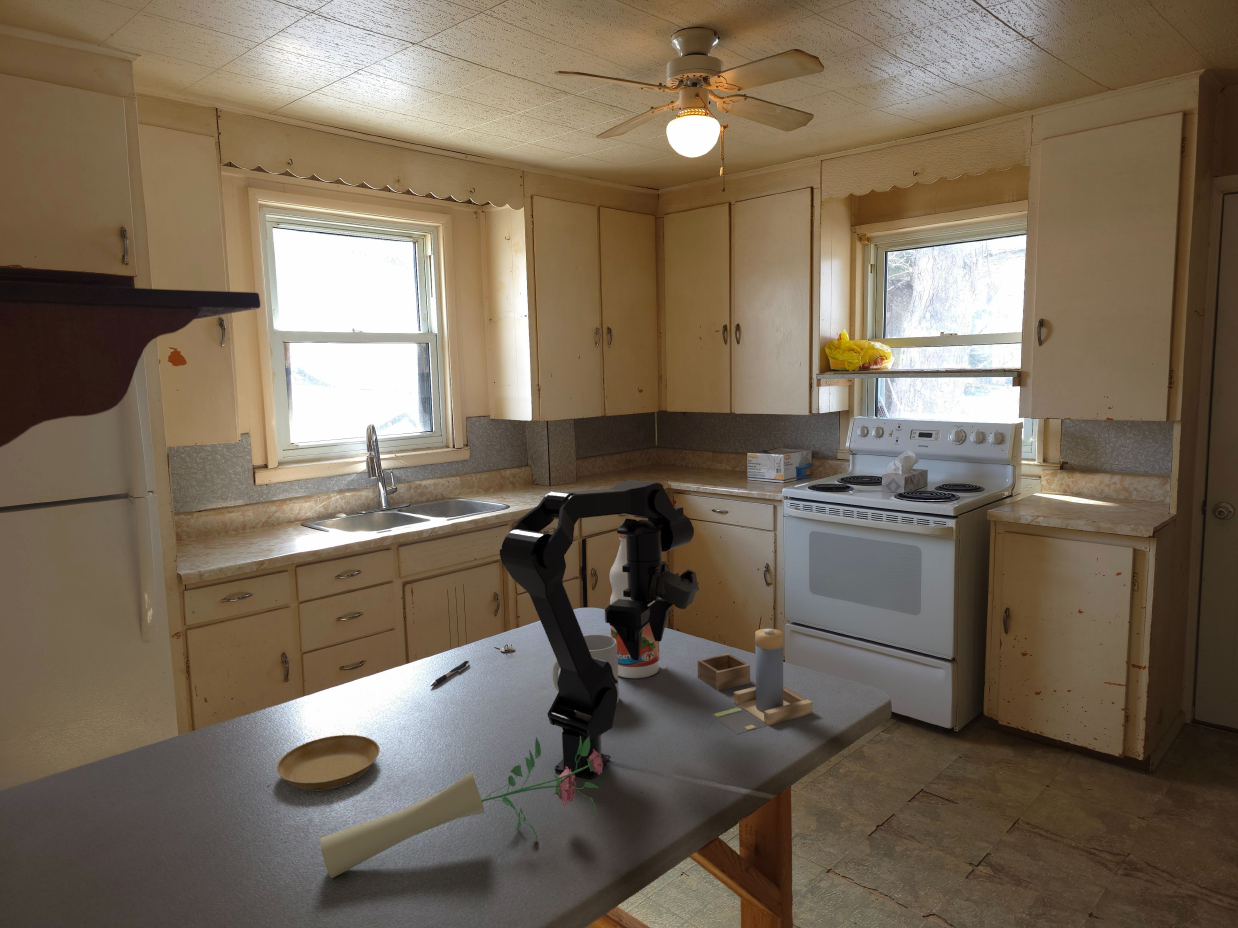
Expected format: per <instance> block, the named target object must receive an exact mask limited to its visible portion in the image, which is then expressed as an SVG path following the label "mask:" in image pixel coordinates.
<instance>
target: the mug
mask: <svg viewBox="0 0 1238 928" xmlns="http://www.w3.org/2000/svg"><path fill="white" fill-rule="evenodd" d="M583 636H584V638H585V641H586V644H587V646H588V649H589V651H590V654H591V656H592V657H593V658H596V659H600V660H603V661H607V662H609V664H610V665H611V667H612V672H613V675H614V677H615V679H616V680H617V681H618V683H617V684H615V685H616V687H617V692H618V697H617V704H619V701H620V689H619V676H618V657H617V641H616V640H615V639H614V638H612V637H611V635H604V634H587V635H586V634H585V635H583ZM559 673H560V666H559V664H558V661H557V659H555V661H554V663H553V666H552V682H553V686H554V689H555V690H556V691H557V693H558V692H559V689H558V685H557V681H558V677H559Z"/></svg>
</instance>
